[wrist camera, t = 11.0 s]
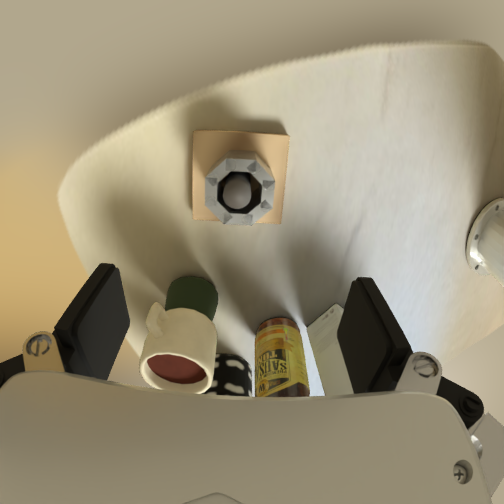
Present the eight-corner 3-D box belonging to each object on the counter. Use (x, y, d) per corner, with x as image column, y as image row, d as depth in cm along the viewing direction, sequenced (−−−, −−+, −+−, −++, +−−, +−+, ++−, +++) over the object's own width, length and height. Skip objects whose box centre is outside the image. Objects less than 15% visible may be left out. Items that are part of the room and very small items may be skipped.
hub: (272, 151, 26) (277, 161, 22) (267, 207, 29) (271, 226, 25) (212, 148, 26) (205, 157, 22) (210, 204, 29) (204, 223, 25)
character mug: (148, 268, 34) (110, 344, 23) (199, 247, 33) (176, 327, 21) (190, 330, 39) (174, 409, 27) (237, 316, 38) (234, 400, 26)
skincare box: (305, 327, 39) (324, 420, 26) (337, 299, 37) (371, 392, 24) (342, 349, 42) (366, 432, 28) (372, 325, 39) (407, 408, 26)
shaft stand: (287, 134, 27) (299, 143, 21) (279, 218, 31) (287, 249, 25) (195, 130, 27) (180, 137, 20) (195, 214, 31) (182, 244, 25)
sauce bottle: (276, 307, 37) (293, 453, 20) (309, 328, 39) (337, 461, 22) (243, 335, 39) (243, 471, 22) (276, 353, 41) (288, 480, 24)
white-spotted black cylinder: (189, 358, 42) (170, 480, 24) (241, 348, 41) (240, 480, 23) (211, 388, 46) (202, 496, 28) (258, 380, 44) (262, 494, 27)
